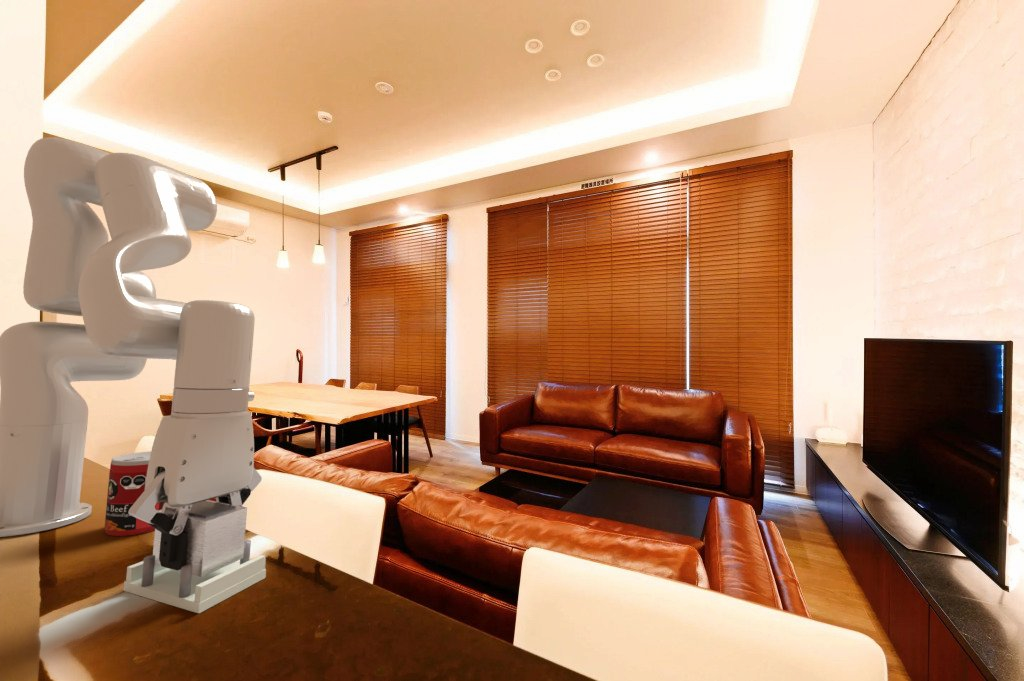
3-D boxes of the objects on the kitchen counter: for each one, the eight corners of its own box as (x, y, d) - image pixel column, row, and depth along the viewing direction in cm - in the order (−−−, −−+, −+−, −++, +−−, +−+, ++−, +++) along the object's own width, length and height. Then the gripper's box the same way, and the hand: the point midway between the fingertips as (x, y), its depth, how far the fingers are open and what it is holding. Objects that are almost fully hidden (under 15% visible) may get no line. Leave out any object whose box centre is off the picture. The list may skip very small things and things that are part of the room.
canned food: (94, 530, 63) (102, 456, 64) (158, 514, 70) (164, 448, 71) (116, 541, 59) (124, 463, 60) (181, 523, 66) (187, 454, 67)
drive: (151, 563, 48) (156, 509, 48) (196, 546, 53) (200, 497, 53) (201, 577, 46) (206, 519, 46) (243, 558, 50) (247, 505, 51)
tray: (123, 590, 47) (126, 554, 47) (196, 560, 55) (198, 529, 55) (198, 613, 43) (202, 574, 44) (265, 577, 51) (268, 544, 51)
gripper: (251, 397, 60) (241, 526, 58) (105, 406, 43) (86, 585, 42) (292, 400, 57) (282, 535, 56) (153, 410, 41) (135, 600, 40)
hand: (198, 554), depth 49 cm, fingers closed on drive, 5 cm apart
